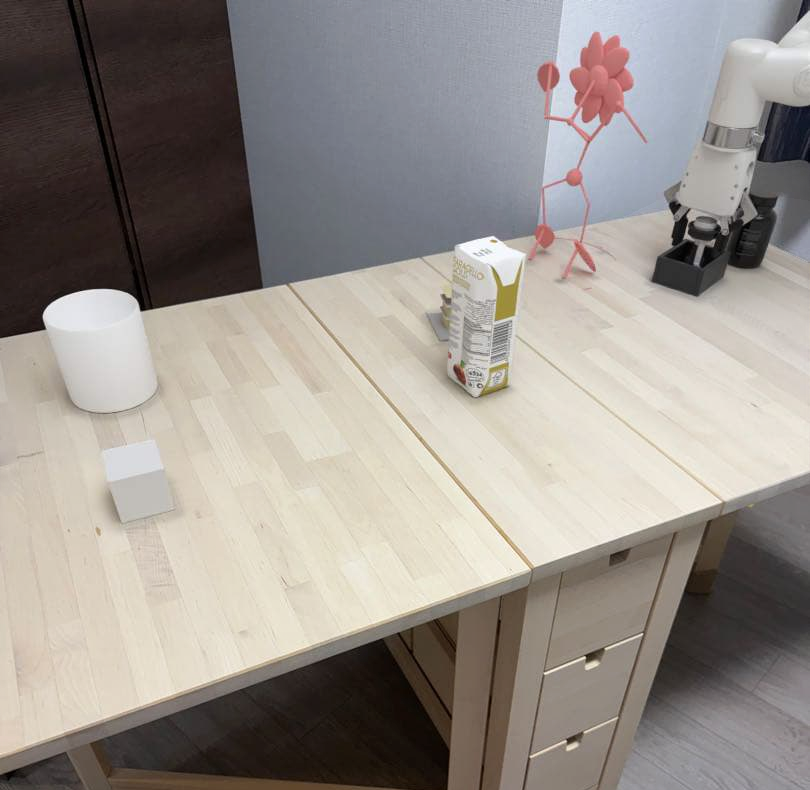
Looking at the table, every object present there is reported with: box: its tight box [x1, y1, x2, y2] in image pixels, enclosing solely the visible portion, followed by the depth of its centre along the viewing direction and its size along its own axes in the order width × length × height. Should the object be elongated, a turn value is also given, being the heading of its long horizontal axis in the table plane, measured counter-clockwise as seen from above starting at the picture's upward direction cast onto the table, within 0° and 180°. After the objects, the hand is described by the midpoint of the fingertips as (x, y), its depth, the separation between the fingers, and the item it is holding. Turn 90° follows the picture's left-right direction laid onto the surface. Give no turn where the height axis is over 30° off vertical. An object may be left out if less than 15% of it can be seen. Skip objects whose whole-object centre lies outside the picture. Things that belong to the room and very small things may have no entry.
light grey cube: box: [100, 438, 176, 524], centre depth 84 cm, size 6×6×6 cm
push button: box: [683, 215, 721, 268], centre depth 128 cm, size 7×5×10 cm
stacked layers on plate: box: [426, 284, 452, 341], centre depth 116 cm, size 10×9×6 cm
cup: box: [42, 288, 159, 414], centre depth 99 cm, size 12×12×12 cm
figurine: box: [528, 31, 648, 291], centre depth 124 cm, size 15×26×35 cm, turn 33°
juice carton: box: [447, 235, 527, 398], centre depth 100 cm, size 8×9×19 cm
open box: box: [651, 238, 731, 297], centre depth 130 cm, size 9×11×4 cm
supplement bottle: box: [726, 188, 779, 269], centre depth 133 cm, size 7×7×12 cm
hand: (696, 248), depth 128 cm, fingers open, 6 cm apart
